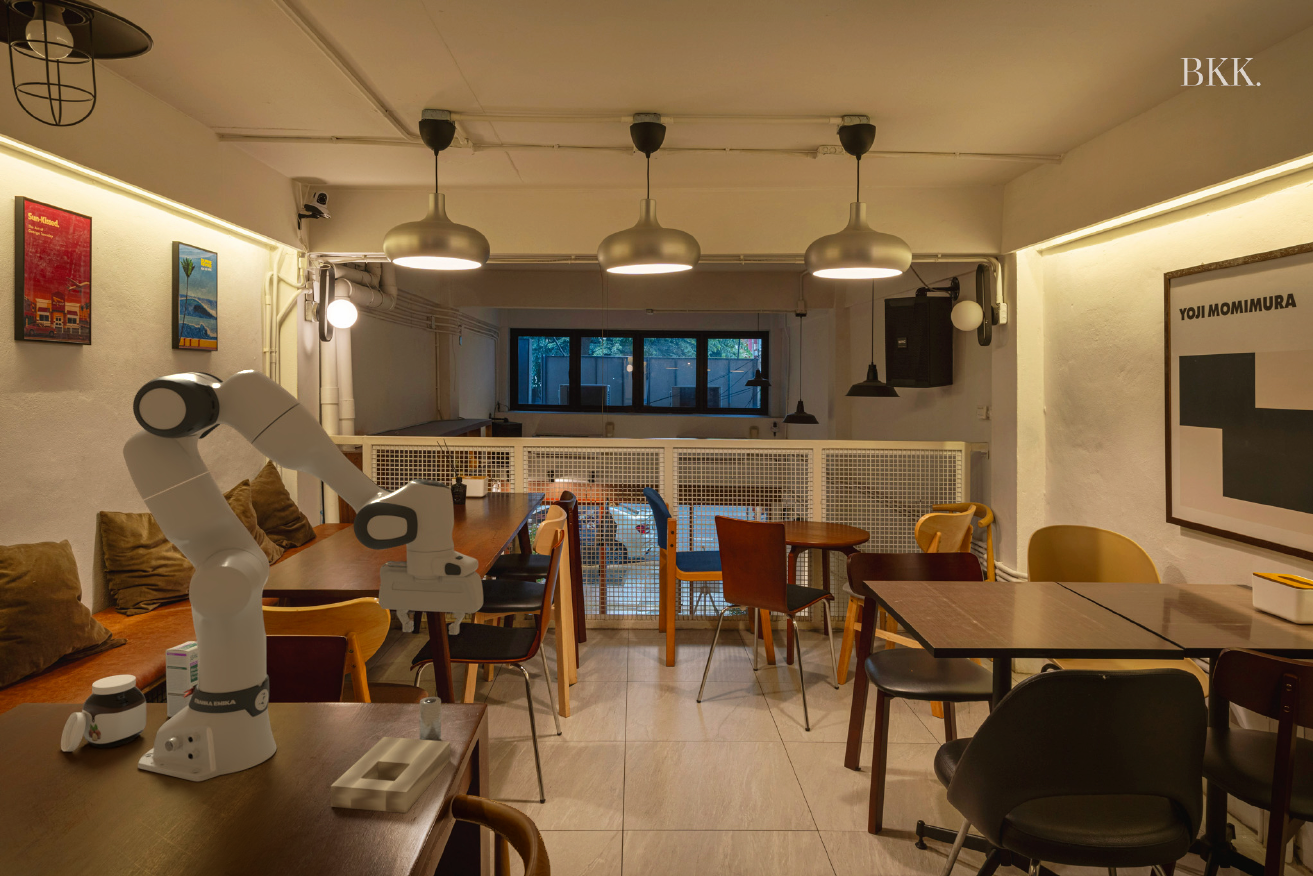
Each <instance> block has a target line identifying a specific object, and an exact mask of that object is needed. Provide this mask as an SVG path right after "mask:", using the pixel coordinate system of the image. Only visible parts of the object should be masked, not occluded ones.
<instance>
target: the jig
mask: <svg viewBox="0 0 1313 876" xmlns="http://www.w3.org/2000/svg"><path fill="white" fill-rule="evenodd" d="M450 761H451V741H446V740H445V741H442V740H440V741H432V740H419V739H417V738H407V737H405V738H404V737H391V736H383V737H382V738H381V739H380V740H378V742H376V743H375V744H374V745H373V746H372V747H371V748H369V750H368V751H367V752H366V753H364V754H363V756H361V757H360V758H359V759H358V760H357V761H356V762H355V763H354V764H353V765H352V766H351V767H350V768H348V769H347V770H346V771H345V772H344V773H343V774H341V776H340V777H338V778H337V779H336V780H335V781H334V782H333V783H332V784H331V785H330V807H331V808H333V807H335V808H343V809H344V808H345V809H355V810H365V811H366V810H367V811H377V812H389V813H400V814H407V813H408V811H410V809H411V808H412V807H413V805H414V804H415V803H416V802H417V801H418V799H420V797H422V795H423V794H424V792H425V791H426V790H427V789H428V788H429V786H430V785H431V784H432V783H433V782H434V780H435V779H436V777H438V775H439V774H440V773H441V772H442V771H443V769H444V768H445V767H446V766H447V765H448V763H450Z"/></svg>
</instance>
